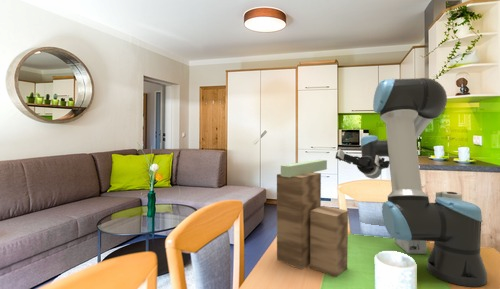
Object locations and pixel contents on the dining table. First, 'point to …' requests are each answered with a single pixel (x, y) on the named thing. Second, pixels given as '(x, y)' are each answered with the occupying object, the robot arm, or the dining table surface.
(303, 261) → the walnut stand
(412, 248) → the light bulb box
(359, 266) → the dining table surface
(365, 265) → the dining table surface
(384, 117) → the robot arm
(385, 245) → the dining table surface
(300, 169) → the sage bar
